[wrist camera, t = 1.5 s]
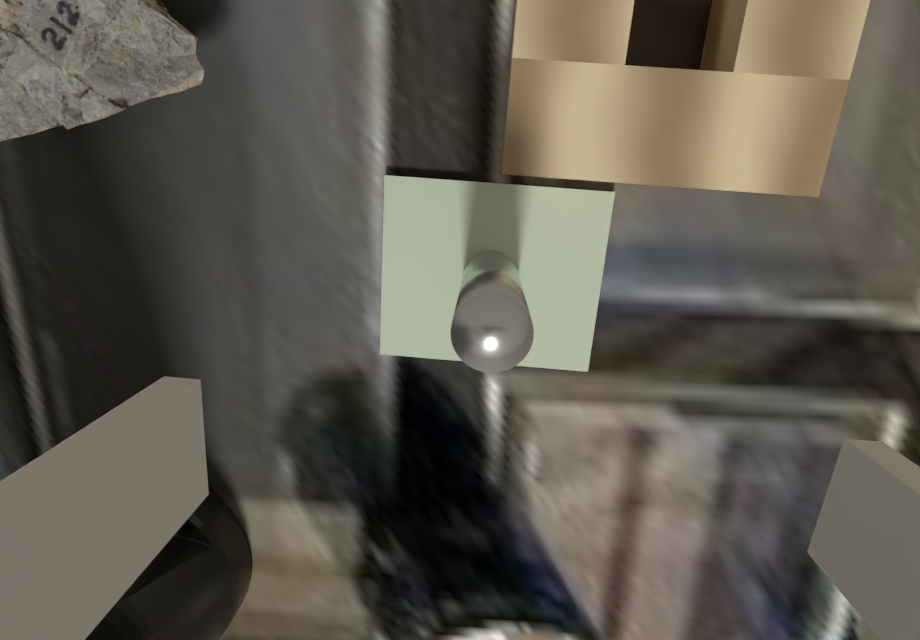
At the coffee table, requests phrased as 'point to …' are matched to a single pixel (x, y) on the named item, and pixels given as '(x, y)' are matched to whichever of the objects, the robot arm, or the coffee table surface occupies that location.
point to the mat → (497, 229)
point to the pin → (491, 315)
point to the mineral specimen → (87, 60)
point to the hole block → (680, 96)
